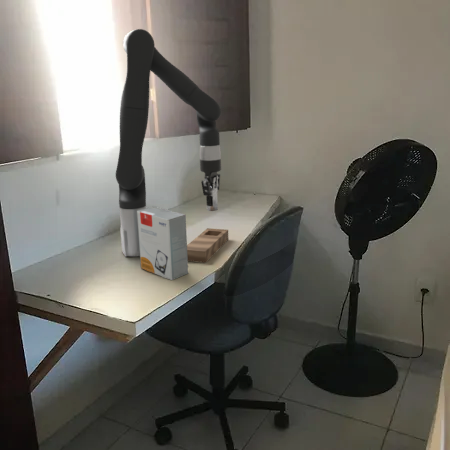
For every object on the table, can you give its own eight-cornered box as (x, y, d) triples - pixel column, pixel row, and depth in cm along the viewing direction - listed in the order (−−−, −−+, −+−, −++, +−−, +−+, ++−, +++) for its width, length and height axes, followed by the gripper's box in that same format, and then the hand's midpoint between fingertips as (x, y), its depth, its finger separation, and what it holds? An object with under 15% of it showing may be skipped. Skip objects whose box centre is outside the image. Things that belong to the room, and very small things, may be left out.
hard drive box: (140, 269, 168) (135, 210, 162) (157, 262, 173) (154, 205, 167) (171, 281, 157) (167, 219, 152) (189, 273, 163) (186, 213, 157)
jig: (205, 262, 172) (205, 251, 171) (182, 260, 174) (182, 249, 173) (228, 239, 194) (228, 229, 193) (207, 238, 197) (207, 228, 196)
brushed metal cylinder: (209, 211, 184) (208, 189, 182) (205, 209, 188) (204, 187, 186) (219, 210, 186) (218, 188, 183) (215, 207, 189) (214, 186, 187)
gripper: (213, 161, 174) (215, 210, 179) (226, 154, 187) (227, 200, 192) (193, 160, 176) (195, 208, 181) (207, 154, 189) (209, 199, 194)
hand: (212, 204), depth 186 cm, fingers closed on brushed metal cylinder, 4 cm apart
